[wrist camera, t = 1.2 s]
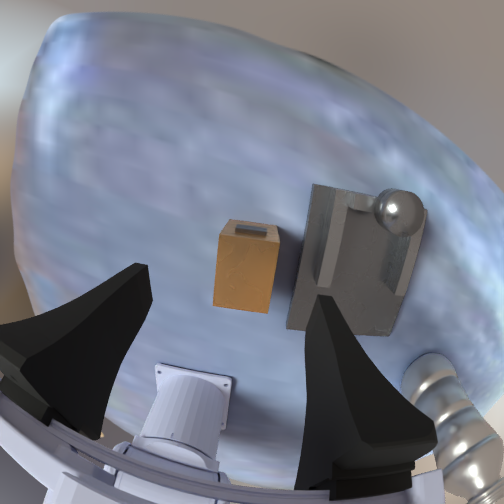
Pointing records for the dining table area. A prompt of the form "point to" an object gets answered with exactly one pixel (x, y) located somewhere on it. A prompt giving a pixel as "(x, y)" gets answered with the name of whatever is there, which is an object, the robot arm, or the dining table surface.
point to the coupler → (357, 256)
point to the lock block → (246, 266)
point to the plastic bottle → (456, 430)
